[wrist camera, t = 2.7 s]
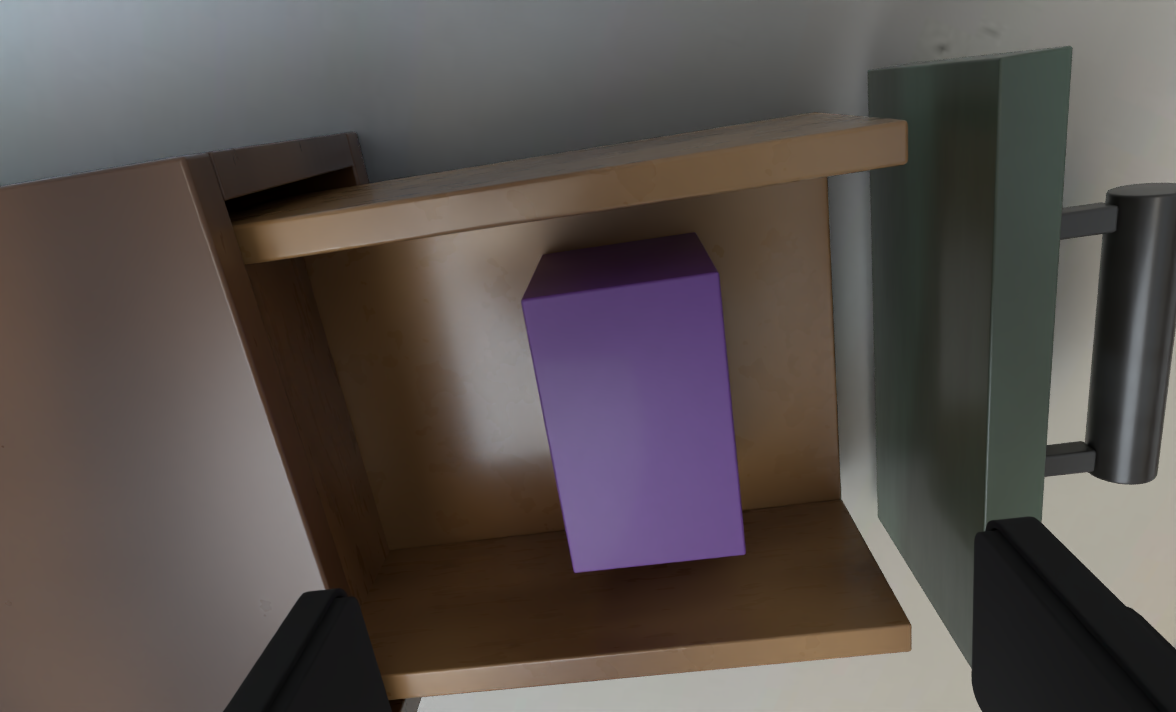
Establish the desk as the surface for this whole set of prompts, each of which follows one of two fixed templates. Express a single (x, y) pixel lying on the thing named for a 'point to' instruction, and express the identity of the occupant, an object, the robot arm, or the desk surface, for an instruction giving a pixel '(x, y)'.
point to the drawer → (756, 371)
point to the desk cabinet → (150, 435)
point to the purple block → (637, 402)
